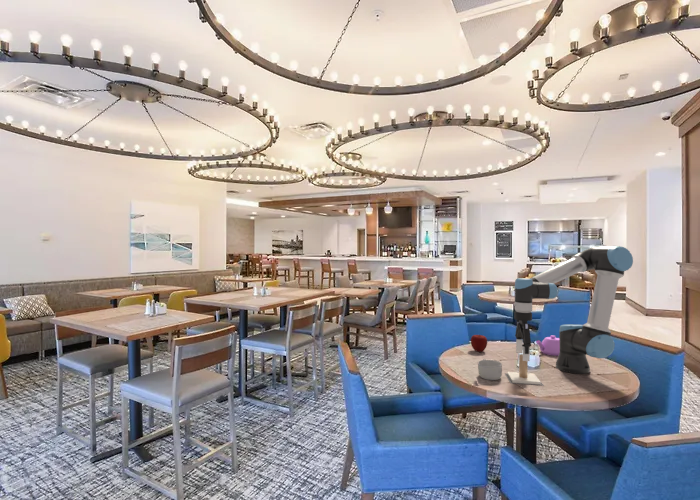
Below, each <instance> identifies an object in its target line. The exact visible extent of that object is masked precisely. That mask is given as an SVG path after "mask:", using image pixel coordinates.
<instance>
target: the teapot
mask: <svg viewBox="0 0 700 500" xmlns="http://www.w3.org/2000/svg"><path fill="white" fill-rule="evenodd" d="M535 343H536V344H537V345H538V346H539V350H540V352H541V353H542V354H544V355H548V356H553V357H558V356H559V353H560V342H559V337H556V335H550V336H547V337H544V339H543V340H542V341H541V340H538V339H537V340H536V341H535Z"/></svg>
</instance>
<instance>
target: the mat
mask: <svg viewBox="0 0 700 500" xmlns="http://www.w3.org/2000/svg"><path fill="white" fill-rule="evenodd" d="M504 376H506V378H507V380H508V382H509V383H510V384H515V385H525V384H524V383H512V381H511V380H510V378H509V376H508V375H507V372H506V373H504ZM540 382H541V380H540ZM526 385H527V386H529V385H530V386H541V387H542V386H543V387H544V386H545V385H544V383H543V382H541V385H538V384H526Z"/></svg>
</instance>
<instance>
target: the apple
mask: <svg viewBox="0 0 700 500" xmlns="http://www.w3.org/2000/svg"><path fill="white" fill-rule="evenodd" d="M470 344H471V347H472V349H473V350H474V351H475V352H479V353H482V352H484V351H485V350H486V348H487V346H488V338H487V337H486V336H485V335H481V334H473V335H471V337H470Z"/></svg>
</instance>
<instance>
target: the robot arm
mask: <svg viewBox="0 0 700 500" xmlns="http://www.w3.org/2000/svg"><path fill="white" fill-rule="evenodd" d="M633 263H634V258H633V255H632V253H631V251H630V250H629V249H628V248H626V247H625V246H620V245H619V246H617V245H606V246H604V245H602V246H593V247H589V248H586V249H584V250H582V251H579V252H578V253H576V254H574V255H572V256H571V257H570V259H568V260H565V261H563V262H561V263H559V264H558V265H555V266H553V267H551V268H549V269H547V270H545V271H543V272H541V273H539V274H535V275H534V276H533V277H530V278H525V277H524V278H523V277H520V278H519V277H518V278H515V281H514V303H513V306H514V316H513V317H514V320H516V327H515V328H516V329H515V335H514V336H515V338H516V340H515V341H516V342H515V348H516V349H515V353H516V354H523V361H528V362H530V361H531V359H530V355H531V354H530V353H531V351H530V350H531V347H532V340H531V330H530V324H529V323H528V322H530V321H532V320H533V313H532V312H533V300H536V299H539V300H551V299H553V300H554V299H555V298H556V297H557V296H558V292H559V290H558V287H557V285H556V283H558V282H561V281H563V280H565V279H568V278H569V277H571V276H574V275H576V274H578V273H585V272H587V271H591V270H594V272H595V274H596V275H597V276H596V282H595V285H594V289H593V294H592V300H591V303H590V307H589V313H588V317H587V322H586V323H584V324H561V325H560V326H559V330H558V333H559V337H558V338H559V342H560V353H559V356H557V358H556V361H555V368H556V369H557V370H560V371H561V372H565V373H570V374H575V375H576V374H577V375H578V374H579V375H585V374H589V373H590V372H591V368H590V367H591V366H590V364H589V361H588V358H587V356H589V357H591V358H596V359H600V360H601V359H606V358H607V357H609V356H611V355H612V354H613V352H614V350H615V341H614V338H613V337H611V335H612V334H611V333H612V331H611V330H610V329H609V325H610V321H611V317H612V316H611V315H612V312H613V307H614V302H615V298H616V295H617V288H618V285H619V279H621V278H623V277H624V275H625V272H627V271H629V270H630V269H631V268H632V266H633Z"/></svg>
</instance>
